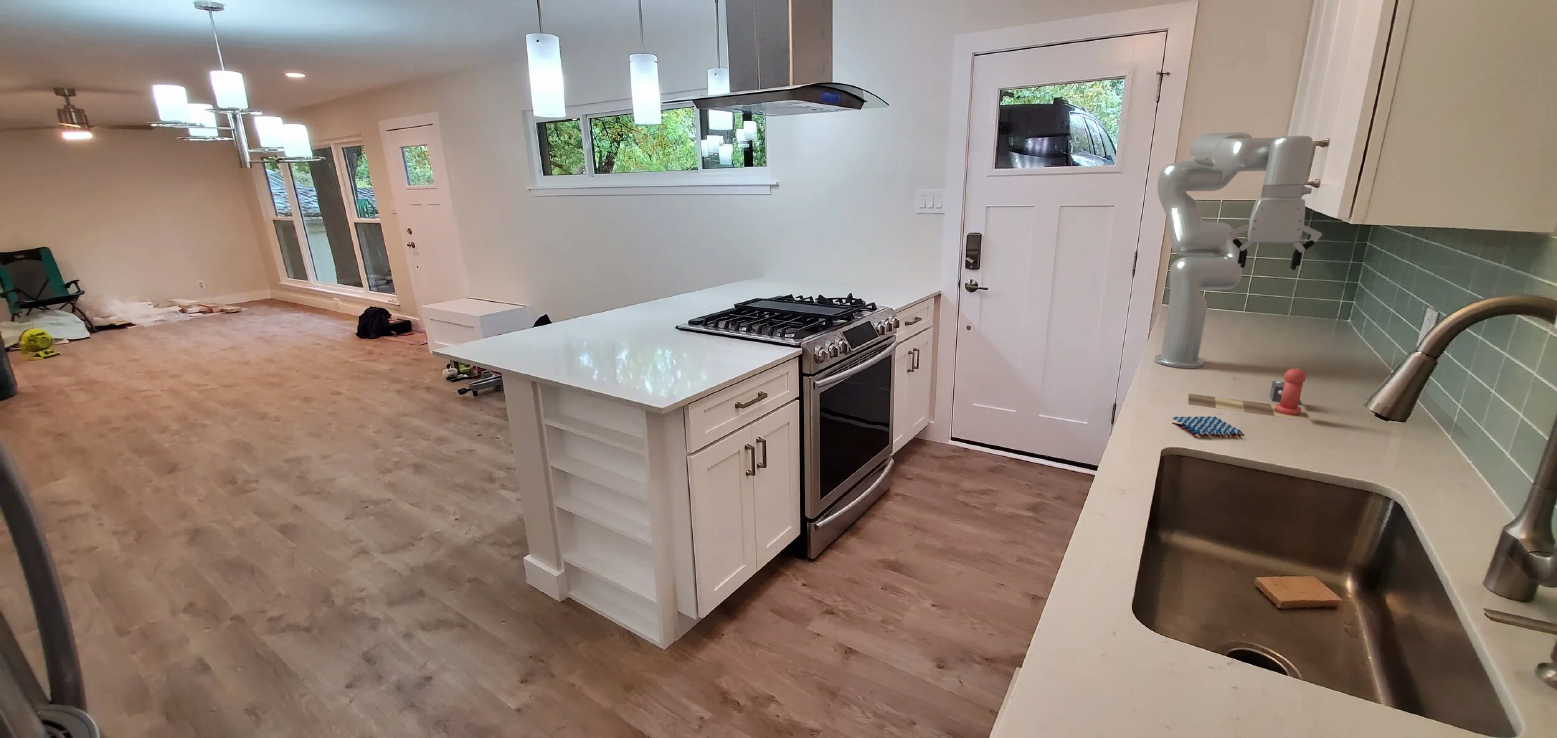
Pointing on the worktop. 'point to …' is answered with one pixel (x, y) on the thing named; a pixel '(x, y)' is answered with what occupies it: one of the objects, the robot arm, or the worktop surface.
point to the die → (1277, 391)
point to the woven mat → (1207, 427)
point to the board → (1238, 406)
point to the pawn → (1291, 392)
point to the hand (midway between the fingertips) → (1267, 268)
